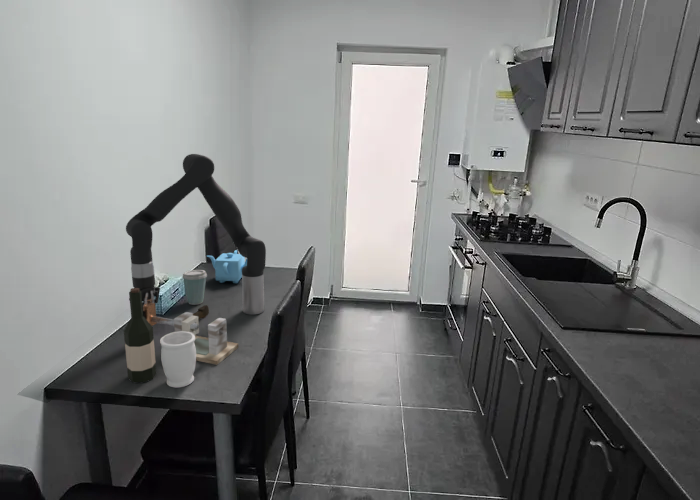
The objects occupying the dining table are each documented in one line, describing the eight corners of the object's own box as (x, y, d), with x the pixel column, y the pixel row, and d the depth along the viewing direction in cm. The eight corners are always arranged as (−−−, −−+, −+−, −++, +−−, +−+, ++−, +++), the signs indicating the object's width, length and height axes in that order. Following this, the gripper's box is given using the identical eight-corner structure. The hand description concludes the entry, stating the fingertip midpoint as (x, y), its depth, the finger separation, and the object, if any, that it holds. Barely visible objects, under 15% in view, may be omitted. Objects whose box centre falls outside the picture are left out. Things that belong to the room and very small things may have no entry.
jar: (168, 372, 152) (165, 330, 148) (200, 372, 152) (198, 330, 149) (158, 390, 141) (155, 346, 137) (193, 389, 142) (190, 345, 138)
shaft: (145, 321, 174) (144, 301, 172) (200, 331, 167) (199, 311, 165) (139, 324, 171) (137, 304, 169) (194, 335, 164) (193, 314, 162)
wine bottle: (162, 372, 151) (155, 286, 144) (143, 385, 144) (135, 295, 136) (141, 367, 154) (134, 283, 146) (122, 380, 146) (113, 291, 138)
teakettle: (224, 288, 231) (223, 260, 228) (206, 278, 244) (204, 252, 240) (256, 280, 244) (255, 254, 241) (237, 272, 257) (236, 246, 253)
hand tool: (185, 331, 182) (184, 321, 181) (177, 330, 183) (176, 319, 182) (214, 314, 199) (213, 304, 198) (206, 313, 201) (205, 303, 199)
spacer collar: (193, 331, 170) (192, 315, 169) (199, 332, 170) (198, 316, 168) (182, 338, 164) (181, 321, 163) (188, 339, 164) (187, 323, 162)
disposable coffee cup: (178, 304, 209) (176, 272, 205) (194, 296, 218) (193, 266, 214) (197, 308, 205) (195, 276, 201) (213, 300, 214) (211, 269, 211)
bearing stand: (187, 337, 177) (186, 307, 173) (238, 347, 170) (237, 316, 167) (163, 353, 164) (161, 321, 160) (217, 364, 157) (215, 331, 154)
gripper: (137, 280, 159) (142, 326, 164) (164, 269, 172) (168, 312, 177) (119, 278, 161) (124, 323, 166) (148, 267, 174) (152, 309, 179)
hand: (147, 317), depth 171 cm, fingers closed on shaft, 3 cm apart
